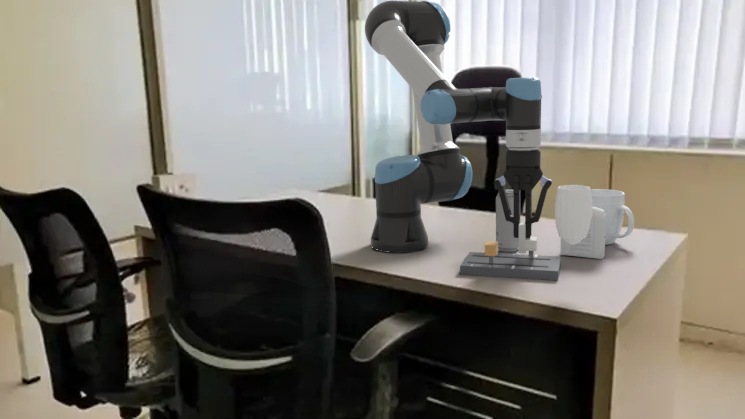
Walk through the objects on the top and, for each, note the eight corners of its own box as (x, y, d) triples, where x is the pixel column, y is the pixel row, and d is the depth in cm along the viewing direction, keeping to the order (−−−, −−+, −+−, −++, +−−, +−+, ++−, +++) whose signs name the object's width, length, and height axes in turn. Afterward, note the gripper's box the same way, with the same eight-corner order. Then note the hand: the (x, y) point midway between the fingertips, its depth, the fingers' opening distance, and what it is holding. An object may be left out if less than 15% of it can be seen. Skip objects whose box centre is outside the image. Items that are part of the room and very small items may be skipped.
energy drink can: (499, 245, 169) (500, 188, 166) (522, 247, 166) (523, 189, 163) (492, 250, 164) (492, 192, 161) (516, 253, 161) (516, 193, 158)
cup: (563, 294, 130) (565, 191, 126) (547, 283, 137) (548, 185, 133) (596, 290, 131) (600, 188, 127) (579, 280, 138) (581, 183, 134)
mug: (645, 245, 164) (647, 194, 161) (617, 252, 158) (619, 199, 156) (596, 235, 176) (597, 187, 174) (568, 241, 170) (570, 192, 168)
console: (460, 274, 145) (459, 265, 145) (469, 259, 156) (469, 251, 156) (557, 280, 138) (558, 270, 138) (560, 264, 150) (561, 255, 149)
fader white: (525, 258, 147) (525, 240, 146) (526, 254, 150) (526, 236, 150) (535, 259, 146) (536, 240, 145) (537, 255, 150) (537, 236, 149)
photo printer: (606, 255, 156) (607, 205, 153) (603, 260, 152) (604, 208, 150) (562, 251, 161) (563, 202, 158) (558, 256, 157) (559, 205, 155)
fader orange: (484, 263, 144) (484, 244, 143) (487, 259, 147) (487, 241, 147) (495, 264, 143) (495, 245, 142) (498, 260, 147) (498, 241, 146)
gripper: (490, 150, 143) (491, 254, 147) (552, 150, 139) (550, 257, 143) (496, 146, 150) (496, 246, 154) (554, 146, 146) (553, 249, 150)
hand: (522, 251), depth 149 cm, fingers closed
